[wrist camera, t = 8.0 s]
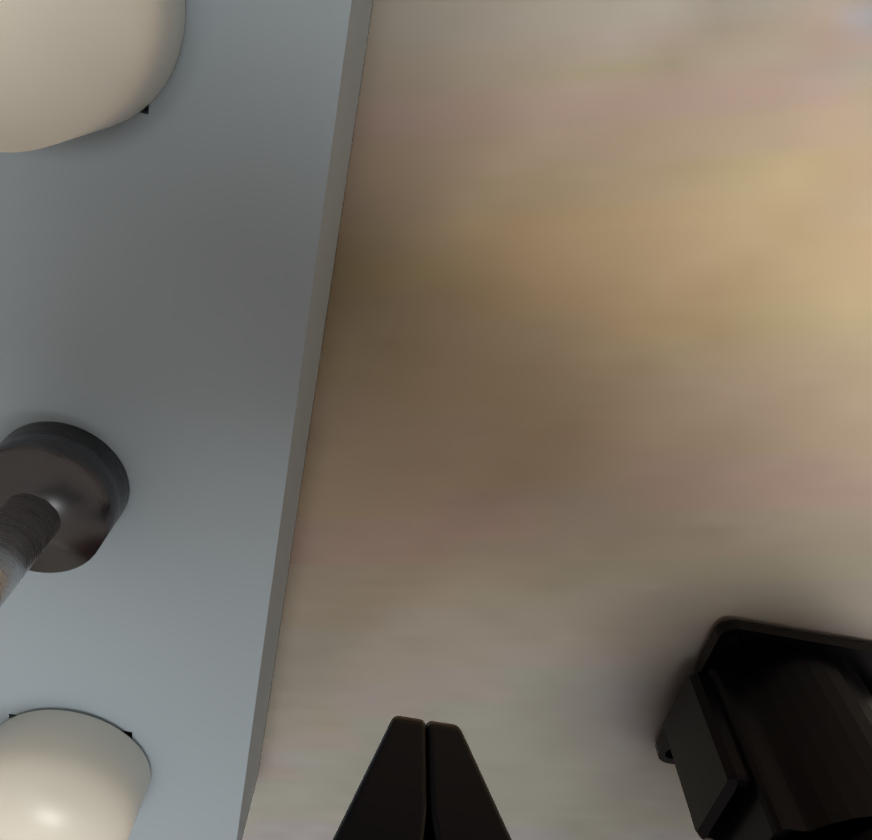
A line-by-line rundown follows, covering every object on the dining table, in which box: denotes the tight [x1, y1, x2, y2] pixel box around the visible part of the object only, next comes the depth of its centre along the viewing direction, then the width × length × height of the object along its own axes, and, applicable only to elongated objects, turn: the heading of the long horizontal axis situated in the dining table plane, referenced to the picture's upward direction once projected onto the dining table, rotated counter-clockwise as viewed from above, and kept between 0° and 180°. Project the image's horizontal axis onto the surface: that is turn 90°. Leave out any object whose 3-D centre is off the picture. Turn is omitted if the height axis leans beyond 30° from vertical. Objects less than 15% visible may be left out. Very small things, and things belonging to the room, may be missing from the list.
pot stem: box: [0, 421, 130, 607], centre depth 15 cm, size 3×3×6 cm
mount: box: [0, 0, 373, 840], centre depth 19 cm, size 10×30×4 cm, turn 168°
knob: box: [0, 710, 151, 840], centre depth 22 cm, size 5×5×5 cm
